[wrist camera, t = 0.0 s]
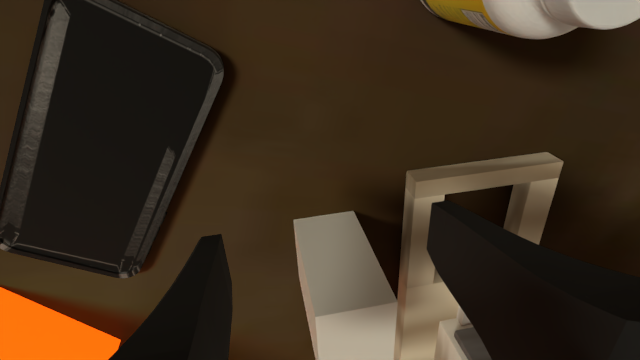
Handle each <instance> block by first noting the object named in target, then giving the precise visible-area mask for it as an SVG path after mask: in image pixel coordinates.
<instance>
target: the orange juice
mask: <svg viewBox="0 0 640 360" xmlns="http://www.w3.org/2000/svg"><path fill="white" fill-rule="evenodd" d="M120 341H121V340H120V339H118V338H115V337H113V336H111V335H108V334H106V333H104V332H102V331H99V330H97V329H95V328H92V327H90V326H88V325H86V324H83V323H81V322H79V321H76V320H74V319H72V318H70V317H67V316H65V315H63V314H60V313H58V312H56V311H54V310H51V309H49V308H47V307H44V306H42V305H40V304H38V303H35V302H33V301H31V300H28V299H26V298H24V297H22V296H19V295H17V294H15V293H12V292H10V291H8V290H6V289H3V288H1V287H0V360H108V359H109V358H110V357H111V356H112V355H113V354H114V353H115V352H116V351H117V350H118V347H119V344H120Z"/></svg>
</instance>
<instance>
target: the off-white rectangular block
mask: <svg viewBox="0 0 640 360" xmlns="http://www.w3.org/2000/svg"><path fill="white" fill-rule="evenodd" d="M294 230H295V240H296V250H297V261H298V271H299V279H300V284H301V289H302V294H303V299H304V304H305V309H306V314H307V319H308V324H309V329H310V334H311V339H312V344H313V349H314V354H315V359H316V360H393V358H394V345H395V331H396V318H397V305H398V301H397V299H396V297H395V295H394V293H393V291H392V289H391V287H390V285H389V283H388V281H387V279H386V277H385V275H384V273H383V271H382V268H381V266H380V264H379V262H378V260H377V258H376V256H375V254H374V252H373V250H372V248H371V246H370V244H369V242H368V240H367V238H366V235H365V233H364V231H363V229H362V227H361V225H360V223H359V221H358V219H357V217H356V215H355V213H354V211H349V212H343V213H336V214H329V215H322V216H316V217H309V218H302V219H295V220H294Z"/></svg>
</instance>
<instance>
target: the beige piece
mask: <svg viewBox="0 0 640 360" xmlns="http://www.w3.org/2000/svg"><path fill="white" fill-rule="evenodd" d="M563 162H564V161H562V160H560V159H558V158H557V157H555V156H553V155H552V154H550V153H548V152H543V153H536V154H528V155H521V156H514V157H506V158H499V159H491V160H484V161H476V162H469V163H462V164H454V165H447V166H439V167H432V168H425V169H417V170H410V171H407V174H406V187H405V201H404V215H403V229H402V242H401V256H400V270H399V283H398V297H397V301H398V305H397V318H396V331H395V345H394V358H393V360H492V359H491V357H490V355H489V353H488V351H487V349H486V347H485V346H484V344H483V342H482V340H481V338H480V336H479V335H478V333H477V332H476V330H475V328H474V327H473V325H472V324H471V322H470V321H469V319H468V318H467V316H466V315H465V313H464V312H463V310H462V309H461V307H460V306H459V304H458V303H457V301H456V300H455V298H454V297H453V295H452V294H451V292H450V291H449V289H448V288H447V286H446V285H445V283H444V282H443V280H442V279H441V277H440V276H439V274H438V272H437V270H436V268H435V266H434V264H433V262H432V260H431V258H430V256H429V254H428V251H427V249H426V248H427V240H428V231H429V222H430V213H431V205H432V203H434V202H440V201H444V197H445V194H452V193H459V192H465V191H472V190H479V189H486V188H493V187H500V186H506V185H513V184H514V185H513V189H512V193H511V198H510V202H509V206H508V211H507V215H506V219H505V223H504V229H506V230H508V231H510V232H512V233H514V234H516V235H518V236H520V237H522V238H525V239H527V240H529V241H531V242H533V243H536V244H538V245H539V243H540V239H541V236H542V232H543V229H544V226H545V222H546V219H547V216H548V212H549V209H550V206H551V202H552V199H553V195H554V192H555V189H556V185H557V182H558V179H559V175H560V172H561V169H562V165H563Z"/></svg>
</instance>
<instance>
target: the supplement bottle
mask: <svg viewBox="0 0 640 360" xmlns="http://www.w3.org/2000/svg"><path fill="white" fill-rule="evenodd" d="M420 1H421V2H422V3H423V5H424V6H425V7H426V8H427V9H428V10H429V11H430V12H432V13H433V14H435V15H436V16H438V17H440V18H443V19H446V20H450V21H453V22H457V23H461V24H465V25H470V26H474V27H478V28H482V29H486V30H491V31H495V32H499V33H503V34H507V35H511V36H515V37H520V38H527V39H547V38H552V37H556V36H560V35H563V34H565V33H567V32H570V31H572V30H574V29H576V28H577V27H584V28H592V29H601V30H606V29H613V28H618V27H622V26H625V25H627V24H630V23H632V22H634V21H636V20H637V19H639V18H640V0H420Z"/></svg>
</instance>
